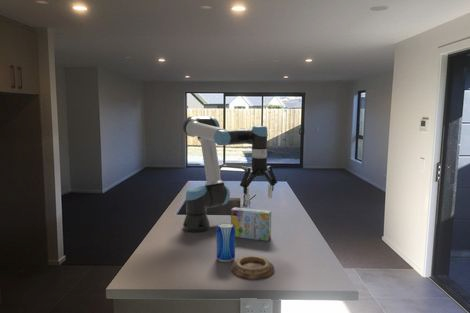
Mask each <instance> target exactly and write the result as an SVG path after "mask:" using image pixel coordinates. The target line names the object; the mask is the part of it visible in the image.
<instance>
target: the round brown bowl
mask: <svg viewBox="0 0 470 313" xmlns="http://www.w3.org/2000/svg"><path fill="white" fill-rule="evenodd" d="M231 272H232V274H234V275H235V276H237V277H238V278H241V279H245V280H254V281H255V280H263V279H266V278H269V277H271V276H272V275H273V274H274V272H275V266H274V265H273V264H272V262H270V261H269V260H268V259H267V258H266V257H263V256H260V255H251V254H250V255H244V256H240V257H238V258H237V259H236V260H235V261H234V262H233V263H232V264H231Z"/></svg>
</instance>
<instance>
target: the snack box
mask: <svg viewBox="0 0 470 313" xmlns="http://www.w3.org/2000/svg"><path fill="white" fill-rule="evenodd" d="M230 223H231V224H233V227H234V229H235V238H243V239H249V240H256V241H257V240H258V241H265V242H269V240H271V237H272V211H271V210H265V209H264V210H263V209H255V208H243V207H236V206H235V207H232V208H231V210H230Z"/></svg>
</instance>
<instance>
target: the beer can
mask: <svg viewBox="0 0 470 313" xmlns="http://www.w3.org/2000/svg"><path fill="white" fill-rule="evenodd" d="M235 257H236V237H235V229H234V227H233V224H231V222H222V223H219V224H218V227H217V228H216V258H217V260H218V261H219V262H221V263H229V262H232V261H234V259H235Z"/></svg>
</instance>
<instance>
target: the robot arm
mask: <svg viewBox="0 0 470 313" xmlns="http://www.w3.org/2000/svg"><path fill="white" fill-rule="evenodd" d="M181 130H182V132H183V134H184V135H186V136H187V137H192V138H194V137H197V141H199V142H200V144H201V145H200V146H201V152H202V157H203V158H202V160H203V166H204V171H205V179H206V182H205V184H204V185H196V186H191V187H189V188H188V189H187V190H186V192H185V214H186V215H185V216H184V217H185V218H184V219H183V220H184V221H183V224H182V225H183V226H182V229H183V230H184V231H186V232H191V233H201V232H205V231H208V230H210V227H211V226H210V225H211V224H210V221H209V217H208V214H207V211H208V210H207V209H211V208H216V207H222V206H224V205H227V203H228V202H229V201H230V196H231V192H230V189H229V187H228V186H227V185H225V181H223V180H222V179H221V172H220V165H219V158H218V150H217V146H231V145H232V146H233V145H234V146H235V145H251V157H252V158H251V167H245V172H244V175H243V177H242V179H241V181H240V183H239V186H240V187H242V188H243V195H244V200H245V201H246V202H249V200H250V187H249V186H250V185H251V183H252V182H253V180H254V179H256V177H260V176H261V177H262V176H263V177H264V179H265V180H266V181H267V182H268V183H269V184H268V185H267V186H268V187H267V188H268V190H267V197H268V198H269V199H272V198H273V192H274V189H275V188H274V187H275V185H276V184H278V181H277V178H276V176H275V173H274V172H273V166H271V165H268V158H267V157H268V156H267V155H268V127H267V126H265V125H253V126H252V128H251V129H247V128H239V129H238V128H237V129H236V128H235V129H226V128H221V127H220V123H219V121H218V119H217V118H216V117H215V116H209V115H201V116H199V115H198V116H197V115H196V116H188V117H186V118H185V119H184V120H183V122H182V123H181ZM267 172H268V173H267ZM268 174H269V175H268Z"/></svg>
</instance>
